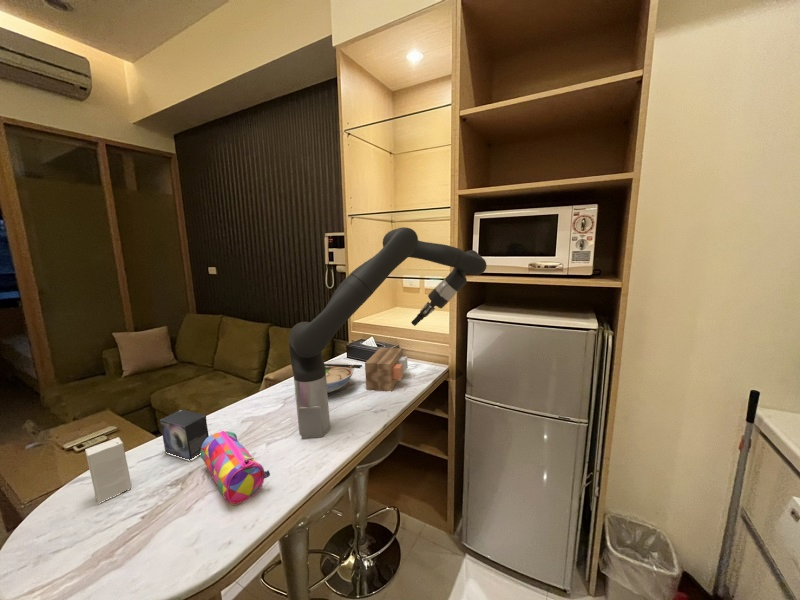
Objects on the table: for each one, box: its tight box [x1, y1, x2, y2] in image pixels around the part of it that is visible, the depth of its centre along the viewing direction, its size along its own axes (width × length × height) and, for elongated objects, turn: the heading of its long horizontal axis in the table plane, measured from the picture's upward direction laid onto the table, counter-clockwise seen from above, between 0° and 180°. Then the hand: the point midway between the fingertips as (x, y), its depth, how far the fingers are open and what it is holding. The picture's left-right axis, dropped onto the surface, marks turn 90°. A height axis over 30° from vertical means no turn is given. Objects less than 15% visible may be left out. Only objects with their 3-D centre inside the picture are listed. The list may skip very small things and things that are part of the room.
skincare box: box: [84, 436, 133, 504], centre depth 72 cm, size 6×4×12 cm
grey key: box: [398, 355, 409, 373], centre depth 134 cm, size 7×5×5 cm
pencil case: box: [200, 430, 271, 506], centre depth 76 cm, size 22×9×9 cm, turn 47°
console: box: [364, 347, 403, 392], centre depth 130 cm, size 10×20×11 cm, turn 166°
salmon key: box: [392, 364, 404, 381], centre depth 125 cm, size 7×5×5 cm
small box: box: [159, 409, 210, 460], centre depth 87 cm, size 11×6×10 cm, turn 68°
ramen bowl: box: [324, 361, 363, 394], centre depth 124 cm, size 25×23×8 cm
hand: (413, 324), depth 127 cm, fingers closed
